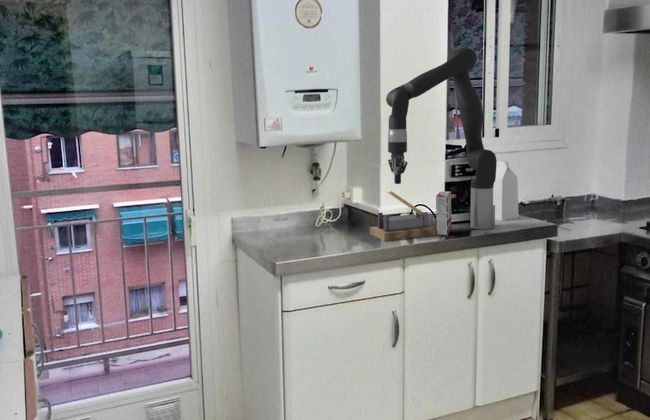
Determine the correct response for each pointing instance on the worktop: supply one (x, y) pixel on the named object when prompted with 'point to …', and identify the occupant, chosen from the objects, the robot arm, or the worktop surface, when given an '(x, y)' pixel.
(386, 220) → the block
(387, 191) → the strip
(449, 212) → the candy bar box
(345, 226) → the worktop surface
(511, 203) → the milk
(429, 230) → the walnut board
